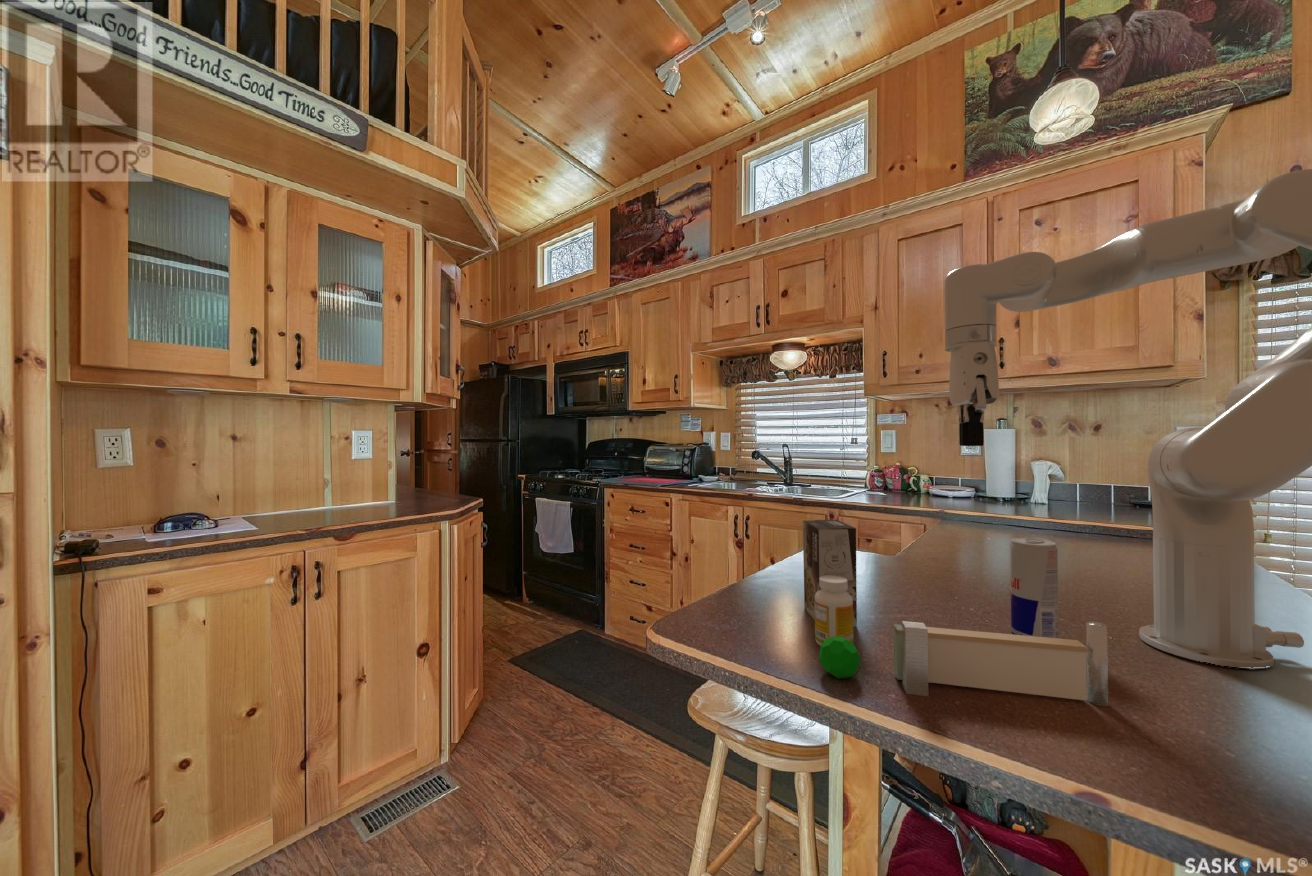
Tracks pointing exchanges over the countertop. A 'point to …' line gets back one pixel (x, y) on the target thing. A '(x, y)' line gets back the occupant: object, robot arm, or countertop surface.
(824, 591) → the supplement bottle
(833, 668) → the polyhedron
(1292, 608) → the countertop surface
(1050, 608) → the beverage can
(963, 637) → the gate
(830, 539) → the coffee box
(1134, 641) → the countertop surface
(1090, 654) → the gate frame
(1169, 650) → the robot arm
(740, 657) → the countertop surface
